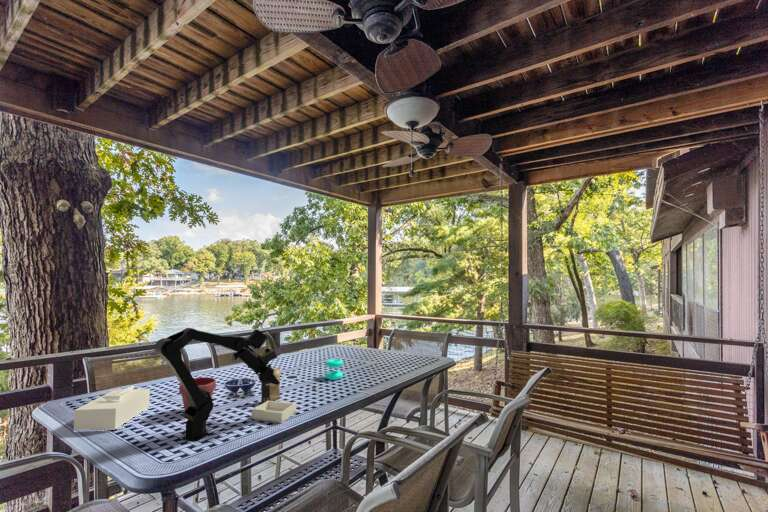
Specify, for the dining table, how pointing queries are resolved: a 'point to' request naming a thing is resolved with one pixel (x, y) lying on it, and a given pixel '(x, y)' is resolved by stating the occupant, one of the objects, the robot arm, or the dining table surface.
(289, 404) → the tray
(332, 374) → the teal hourglass-shaped piece
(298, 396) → the dining table surface
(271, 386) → the pin
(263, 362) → the robot arm
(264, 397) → the battery charger
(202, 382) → the plant pot
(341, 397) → the dining table surface
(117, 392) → the tissue box
